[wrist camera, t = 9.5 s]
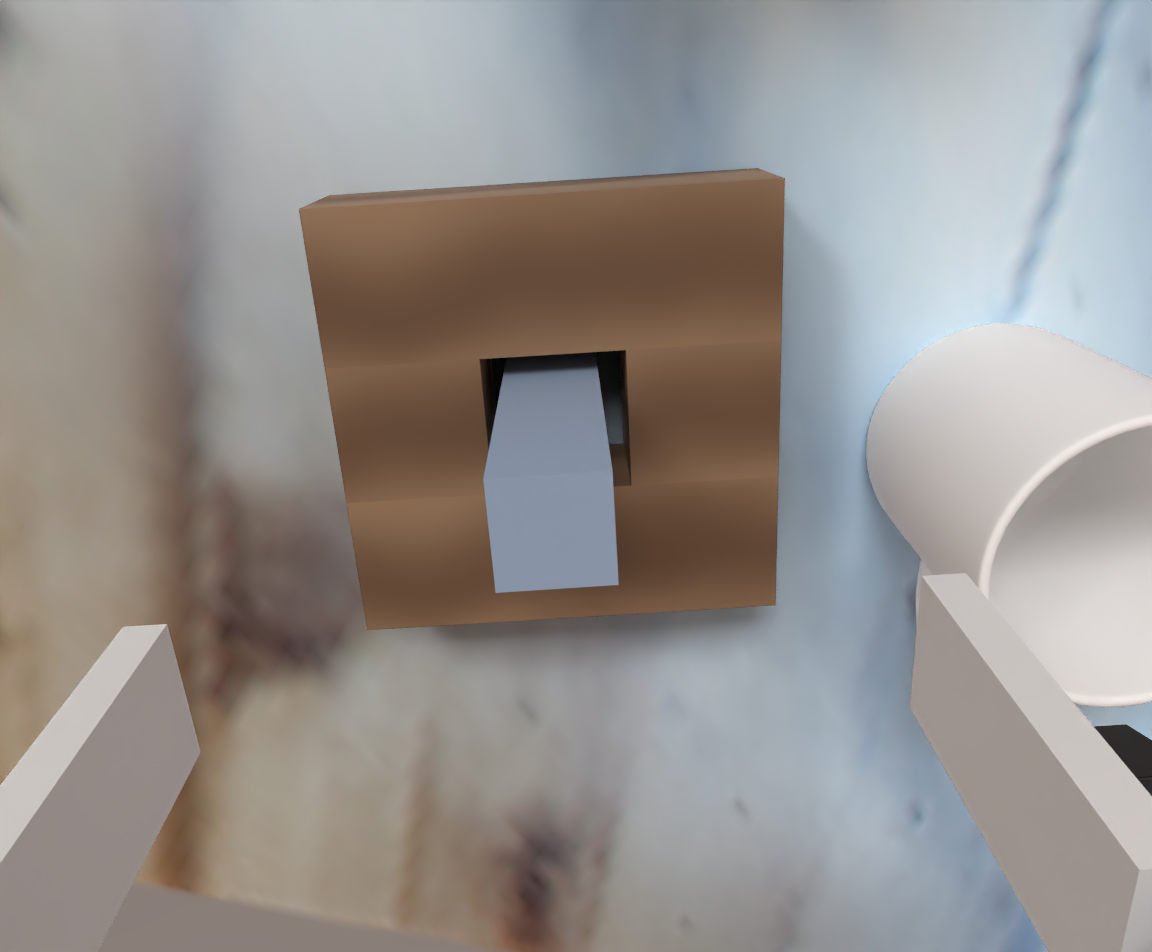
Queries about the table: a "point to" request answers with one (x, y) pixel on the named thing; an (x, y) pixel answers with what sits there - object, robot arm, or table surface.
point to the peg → (550, 477)
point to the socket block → (547, 327)
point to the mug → (1030, 494)
